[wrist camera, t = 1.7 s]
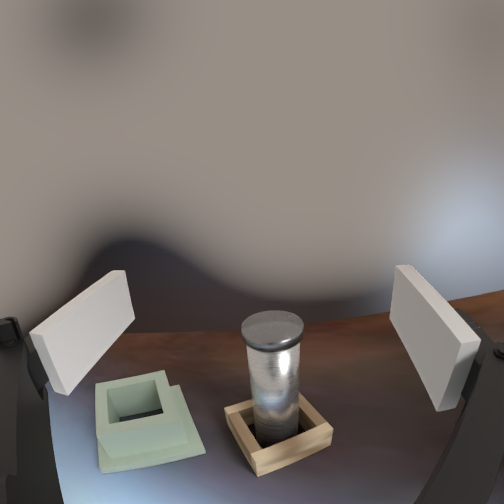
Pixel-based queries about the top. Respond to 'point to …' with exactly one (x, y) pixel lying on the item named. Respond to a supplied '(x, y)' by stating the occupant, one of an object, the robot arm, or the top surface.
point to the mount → (282, 452)
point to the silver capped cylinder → (274, 373)
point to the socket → (143, 424)
